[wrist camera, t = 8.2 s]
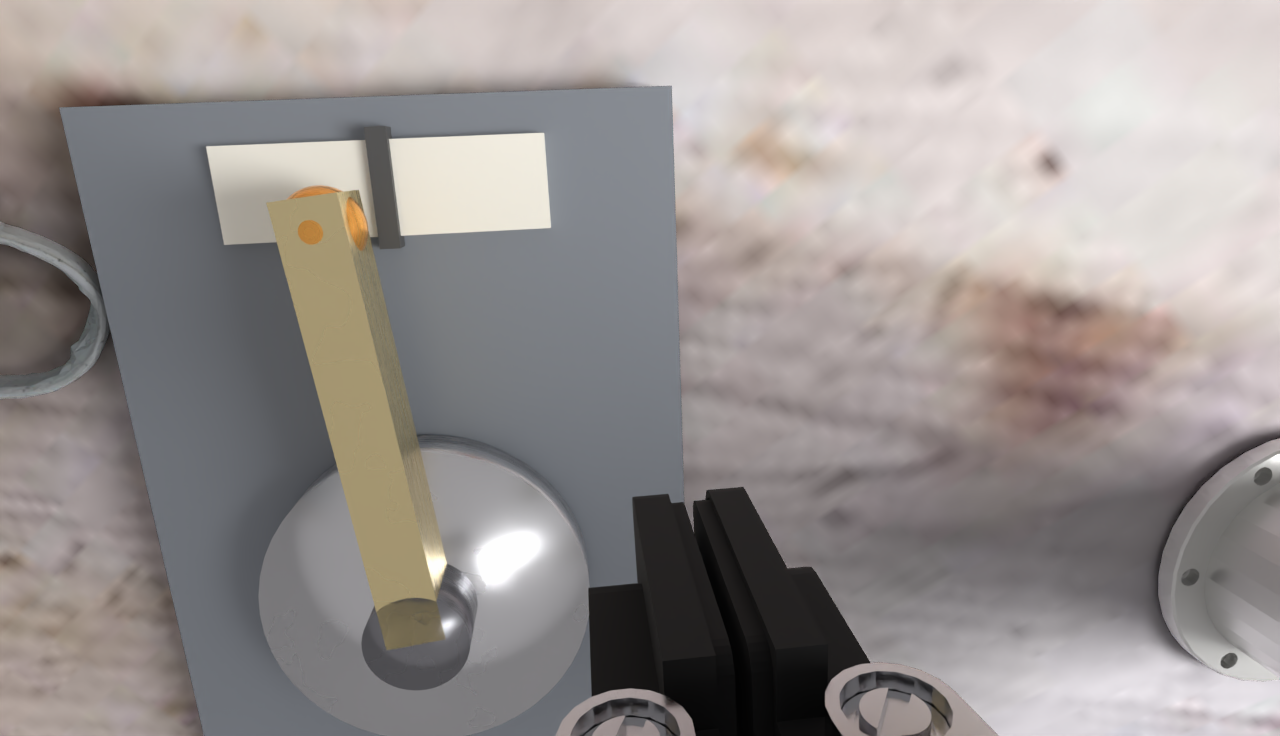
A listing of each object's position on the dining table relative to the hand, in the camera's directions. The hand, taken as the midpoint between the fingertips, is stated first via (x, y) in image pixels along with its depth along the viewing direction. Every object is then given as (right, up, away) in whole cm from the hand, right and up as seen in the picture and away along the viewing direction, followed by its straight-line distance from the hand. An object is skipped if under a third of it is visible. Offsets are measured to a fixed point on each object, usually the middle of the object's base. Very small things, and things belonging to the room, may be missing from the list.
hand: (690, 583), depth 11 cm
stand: (-9, 0, +20) cm, 22 cm away
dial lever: (-9, -1, +17) cm, 20 cm away
